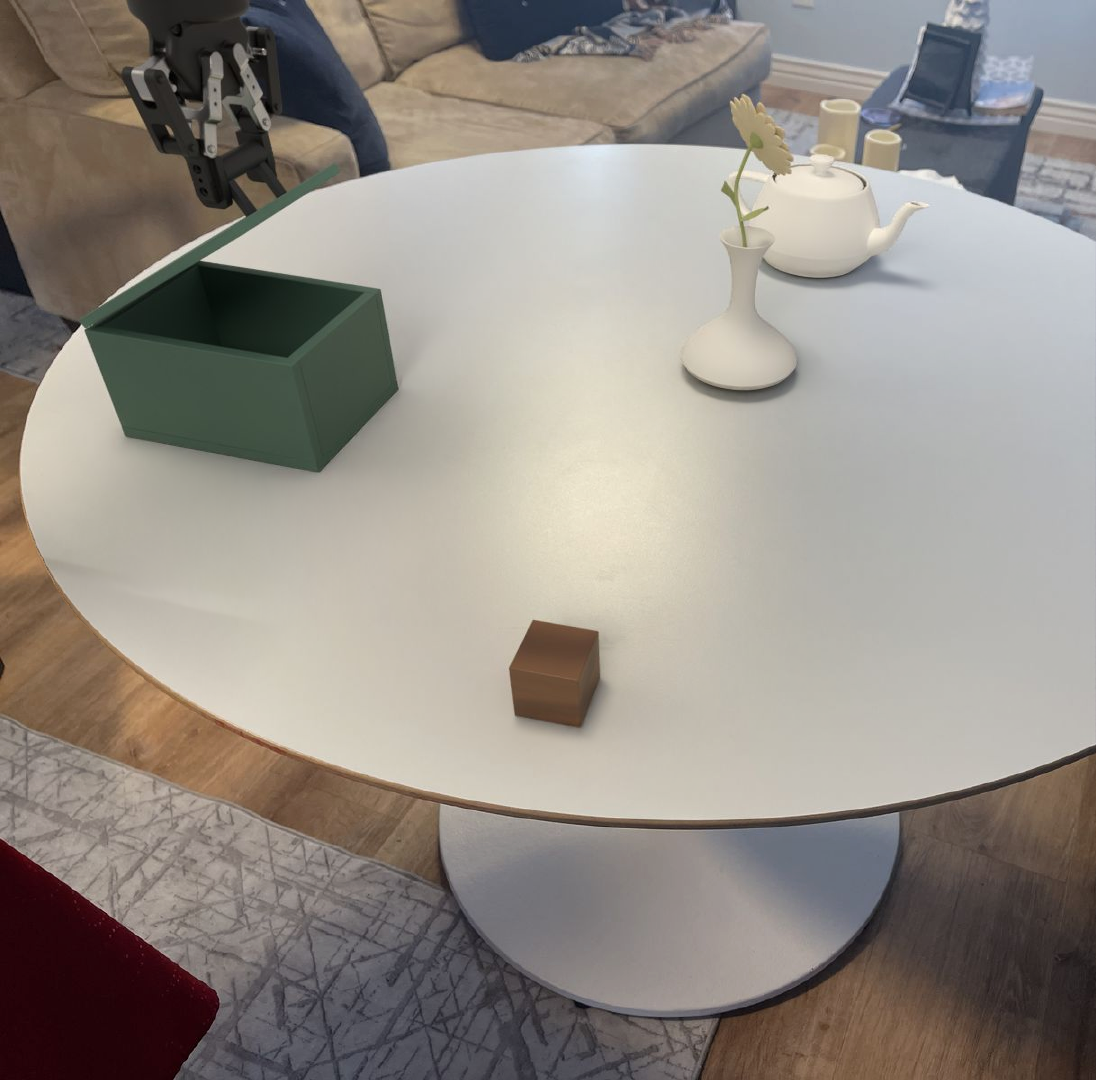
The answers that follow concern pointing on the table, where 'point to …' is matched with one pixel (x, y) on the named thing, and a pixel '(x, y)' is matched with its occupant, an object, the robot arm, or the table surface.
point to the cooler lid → (234, 167)
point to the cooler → (248, 363)
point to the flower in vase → (745, 281)
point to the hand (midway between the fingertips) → (241, 192)
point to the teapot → (821, 218)
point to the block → (555, 673)
